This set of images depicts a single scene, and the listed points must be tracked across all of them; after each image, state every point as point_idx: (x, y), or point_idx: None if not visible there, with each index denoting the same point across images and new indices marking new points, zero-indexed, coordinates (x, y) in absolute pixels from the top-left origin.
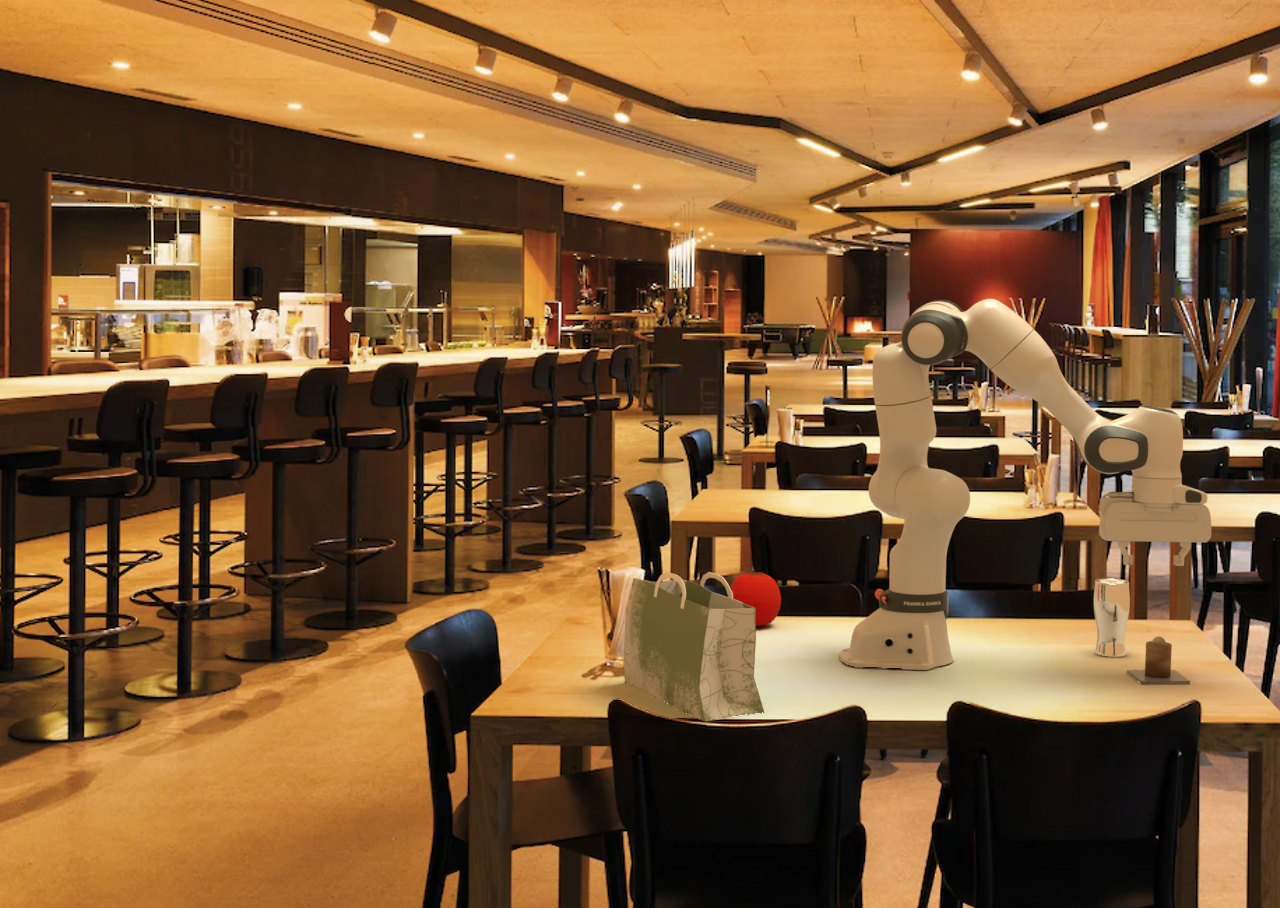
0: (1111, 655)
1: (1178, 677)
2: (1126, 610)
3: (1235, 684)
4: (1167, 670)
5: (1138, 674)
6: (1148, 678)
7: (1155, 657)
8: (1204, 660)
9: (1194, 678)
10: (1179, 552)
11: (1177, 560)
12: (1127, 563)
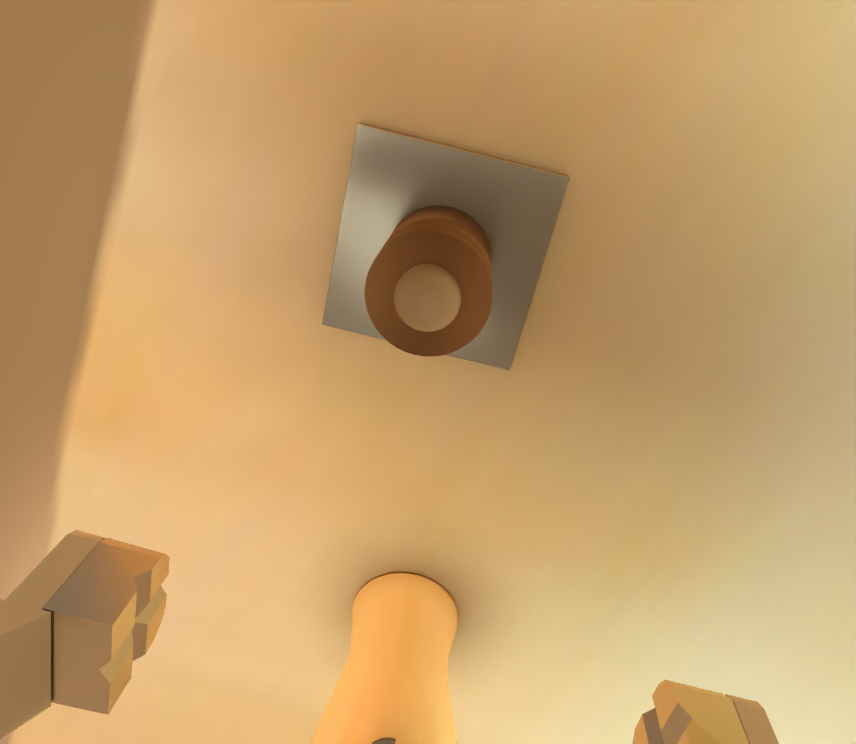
0: (427, 581)
1: (374, 197)
2: (344, 717)
3: (165, 70)
4: (420, 212)
5: (509, 290)
6: (511, 213)
7: (474, 238)
8: (120, 462)
9: (289, 217)
10: (7, 733)
11: (126, 583)
12: (742, 702)
